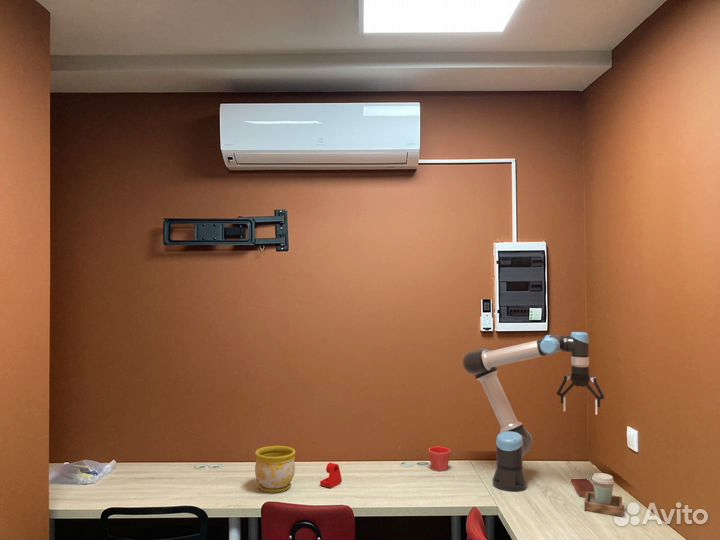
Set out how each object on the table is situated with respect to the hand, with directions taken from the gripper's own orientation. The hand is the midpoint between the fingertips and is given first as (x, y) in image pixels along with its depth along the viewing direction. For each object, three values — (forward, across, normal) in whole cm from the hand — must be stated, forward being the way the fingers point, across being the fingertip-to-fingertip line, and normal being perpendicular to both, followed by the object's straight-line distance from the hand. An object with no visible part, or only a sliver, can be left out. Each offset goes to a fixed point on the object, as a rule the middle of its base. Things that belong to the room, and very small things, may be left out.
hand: (580, 412), depth 251 cm
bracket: (+35, +104, +47) cm, 119 cm away
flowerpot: (+35, +125, +62) cm, 143 cm away
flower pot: (+35, +66, +2) cm, 75 cm away
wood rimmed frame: (+35, -10, +19) cm, 41 cm away
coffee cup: (+34, -10, +19) cm, 40 cm away
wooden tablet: (+36, -2, -3) cm, 36 cm away
